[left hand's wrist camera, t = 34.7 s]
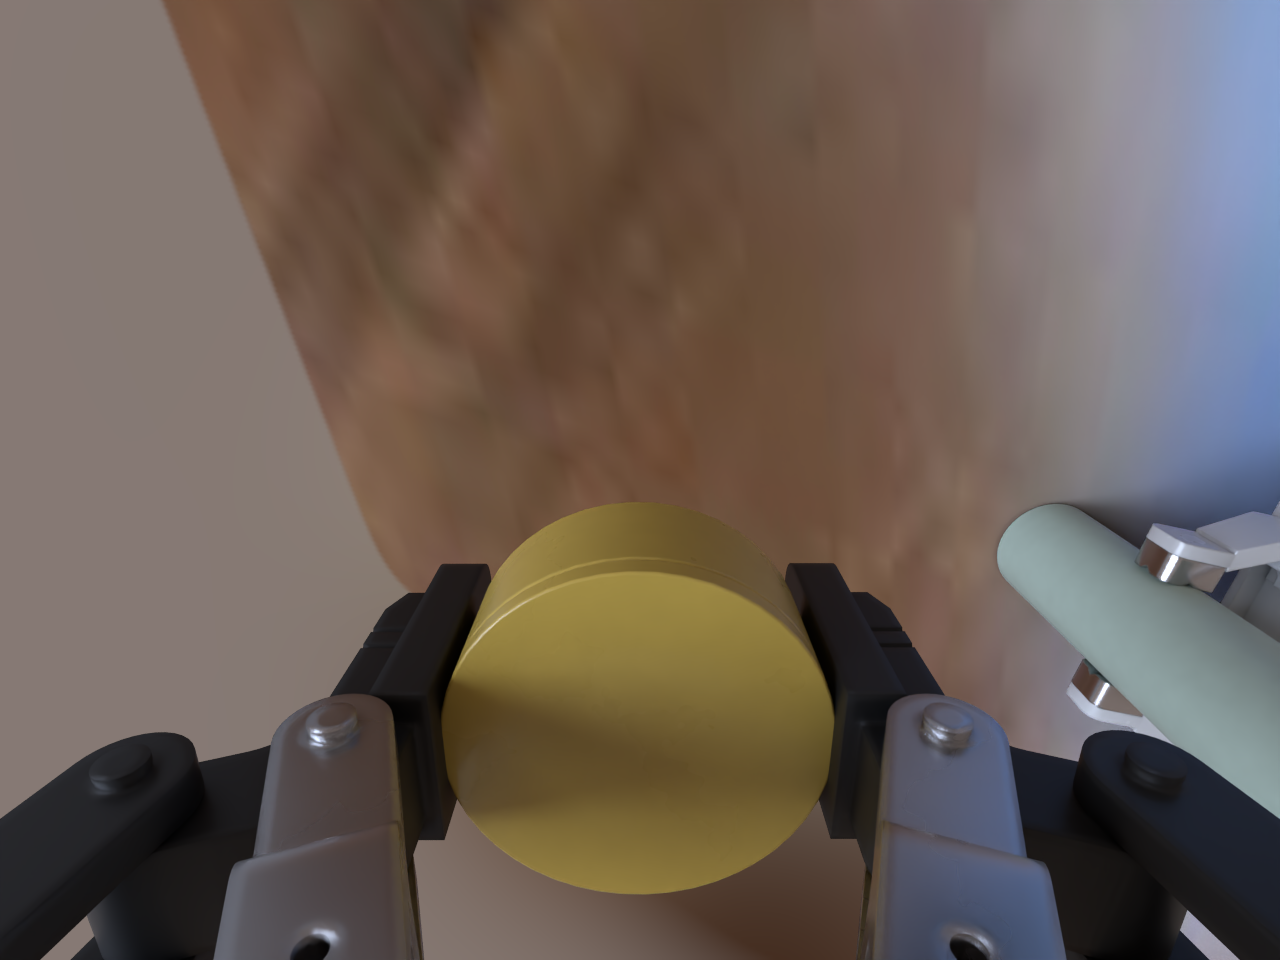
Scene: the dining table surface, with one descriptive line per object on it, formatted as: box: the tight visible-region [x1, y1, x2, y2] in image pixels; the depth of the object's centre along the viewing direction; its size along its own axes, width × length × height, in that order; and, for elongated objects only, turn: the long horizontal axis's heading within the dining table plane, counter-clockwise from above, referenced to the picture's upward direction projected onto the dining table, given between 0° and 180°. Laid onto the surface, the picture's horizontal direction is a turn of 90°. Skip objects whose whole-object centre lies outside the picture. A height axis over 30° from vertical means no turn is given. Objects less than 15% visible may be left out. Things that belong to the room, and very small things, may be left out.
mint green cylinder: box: [997, 504, 1280, 819], centre depth 22 cm, size 4×4×18 cm
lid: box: [441, 502, 835, 894], centre depth 10 cm, size 5×5×2 cm
